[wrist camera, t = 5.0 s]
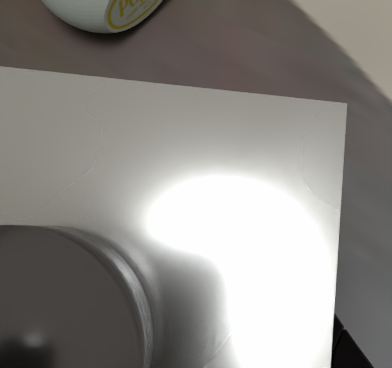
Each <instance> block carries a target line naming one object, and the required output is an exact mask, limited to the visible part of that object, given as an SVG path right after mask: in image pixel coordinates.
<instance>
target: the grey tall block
mask: <svg viewBox="0 0 392 368" xmlns="http://www.w3.org/2000/svg"><path fill="white" fill-rule="evenodd" d="M346 113H347V103H339V102H329V101H320V100H310V99H301V98H292V97H282V96H273V95H263V94H254V93H245V92H235V91H226V90H216V89H207V88H198V87H188V86H179V85H170V84H160V83H151V82H141V81H132V80H123V79H113V78H104V77H94V76H85V75H76V74H66V73H57V72H47V71H38V70H29V69H19V68H10V67H0V368H330V367H331V351H332V335H333V320H334V304H335V288H336V272H337V256H338V240H339V224H340V208H341V192H342V176H343V160H344V144H345V128H346Z"/></svg>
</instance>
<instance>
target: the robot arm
mask: <svg viewBox="0 0 392 368" xmlns="http://www.w3.org/2000/svg"><path fill="white" fill-rule="evenodd" d="M343 329H344V326H343V324H342V323H341V322H340V320H339V319H338V317H337V316H336V315H335V313H334V320H333V335H332V351H331V367H330V368H374V367H373V366H372V364H371V363H370V362H369V360H368V359H367V358H366V356H365V355H364V354H363V352H362V351H361V350H360V348H359V347H358V346H357V344H356V343H355V341H354V340H353V338H352V337H351V336H350V334H349V333H348V331H347V330H346V329H344V330H343Z"/></svg>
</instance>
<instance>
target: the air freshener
mask: <svg viewBox="0 0 392 368" xmlns="http://www.w3.org/2000/svg"><path fill="white" fill-rule="evenodd" d="M162 1H163V0H42V2H43V3H44V4H45V6H46V7H47V8H48V9H50V10H51V11H52V12H53V13H54V14H55V15H56V16H57V17H59V18H60V19H62V20H63V21H65V22H66V23H68V24H70V25H72V26H74V27H76V28H79V29H82V30H86V31H89V32H96V33H116V32H121V31H125V30H127V29H130V28H131V27H133V26H135V25H137V24H138V23H140V22H141V21H142V20H144V19H145V18H146V17H147V16H148V15H150V14H151V13H152V12H153V11H154V10H155V9H156V8H157V6H158V5H159V4H160V3H161V2H162Z"/></svg>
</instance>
